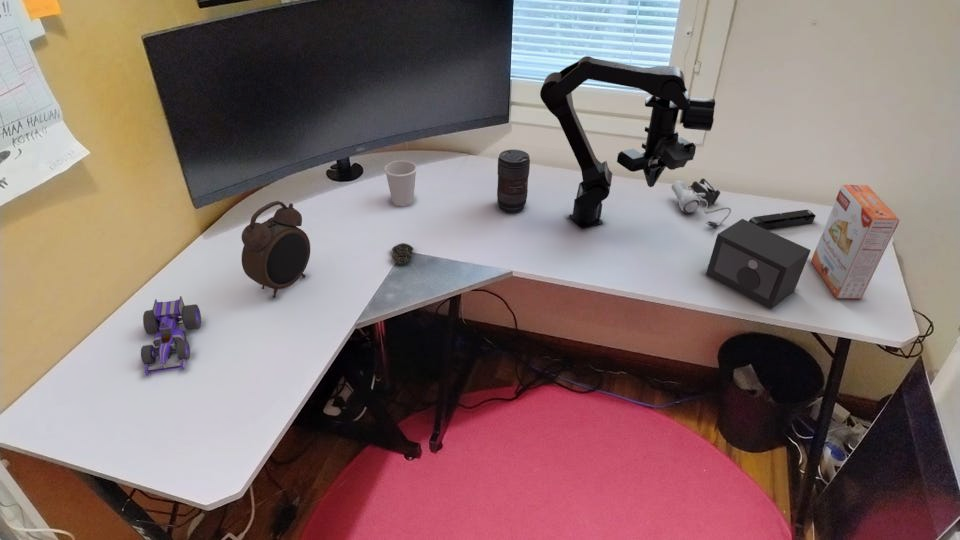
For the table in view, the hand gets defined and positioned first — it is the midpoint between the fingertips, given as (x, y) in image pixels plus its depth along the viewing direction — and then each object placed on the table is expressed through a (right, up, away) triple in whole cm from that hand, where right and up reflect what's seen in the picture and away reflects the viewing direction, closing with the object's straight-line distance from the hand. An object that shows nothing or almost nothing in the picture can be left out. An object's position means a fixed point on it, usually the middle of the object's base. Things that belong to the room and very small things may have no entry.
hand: (650, 186), depth 149 cm
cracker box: (+39, -23, -9) cm, 46 cm away
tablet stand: (+36, -9, +9) cm, 38 cm away
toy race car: (-101, -35, -28) cm, 111 cm away
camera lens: (-33, -4, +15) cm, 36 cm away
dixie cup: (-62, -2, +17) cm, 64 cm away
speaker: (+19, -23, -10) cm, 32 cm away
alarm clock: (-84, -24, -13) cm, 88 cm away
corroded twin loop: (-59, -17, -4) cm, 62 cm away
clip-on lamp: (+17, -5, +14) cm, 23 cm away
